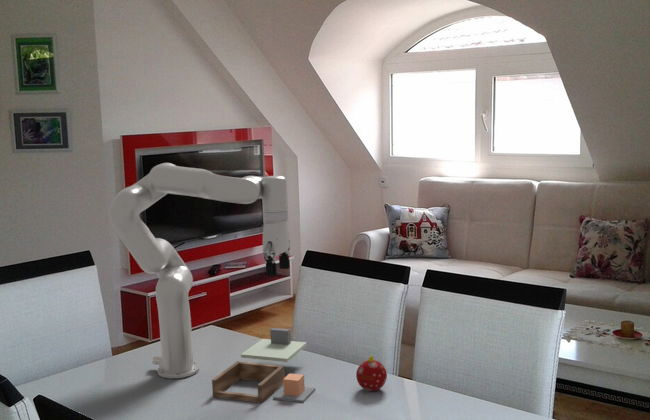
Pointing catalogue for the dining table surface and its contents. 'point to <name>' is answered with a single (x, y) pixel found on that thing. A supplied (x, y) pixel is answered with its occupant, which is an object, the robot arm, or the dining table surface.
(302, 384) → the block
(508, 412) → the dining table surface
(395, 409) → the dining table surface
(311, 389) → the pad
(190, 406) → the dining table surface
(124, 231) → the robot arm
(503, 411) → the dining table surface
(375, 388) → the christmas ornament
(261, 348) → the lid
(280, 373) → the board
